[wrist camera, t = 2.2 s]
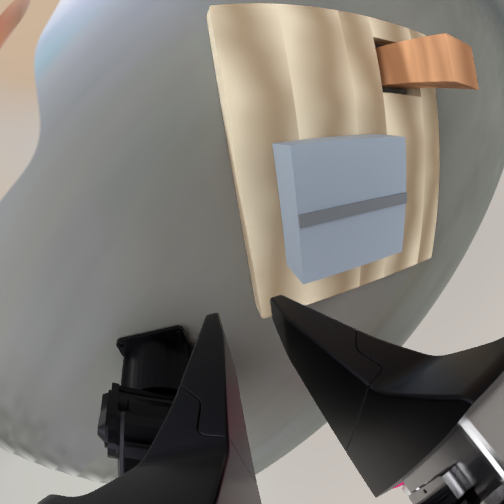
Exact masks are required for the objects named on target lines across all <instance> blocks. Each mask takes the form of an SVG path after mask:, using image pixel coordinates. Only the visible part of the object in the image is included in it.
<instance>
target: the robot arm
mask: <svg viewBox="0 0 504 504" xmlns="http://www.w3.org/2000/svg"><path fill="white" fill-rule="evenodd" d="M270 305H271V312H272V318H273V321H274V324H275V326H276V329H277V331H278V334H279V336H280V338H281V341H282V343H283V346H284V348H285V350H286V353H287V355H288V357H289V359H290V360H291V362H292V364H293V366H294V367H295V369H296V371H297V372H298V374H299V376H300V377H301V379H302V381H303V382H304V384H305V386H306V387H307V389H308V391H309V392H310V394H311V396H312V397H313V399H314V401H315V402H316V404H317V405H318V407H319V409H320V410H321V412H322V414H323V415H324V417H325V419H326V420H327V422H328V423H329V425H330V427H331V428H332V430H333V431H334V433H335V435H336V436H337V438H338V439H339V441H340V443H341V444H342V446H343V447H344V449H345V450H346V452H347V454H348V456H349V457H350V459H351V460H352V462H353V463H354V465H355V466H356V468H357V470H358V471H359V473H360V474H361V476H362V477H363V479H364V481H365V482H366V484H367V485H368V487H369V488H370V490H371V491H372V493H373V494H374V496H375V497H378V496H380V495H382V494H384V493H385V492H387V491H389V490H390V489H392V488H394V487H395V486H397V485H399V484H400V483H402V482H404V484H405V485H406V487H407V488H408V490H409V491H410V493H411V495H409V498H410V500H411V501H412V503H413V504H504V337H503V338H501V339H499V340H496V341H494V342H491V343H488V344H485V345H481V346H478V347H475V348H471V349H468V350H464V351H460V352H457V353H453V354H448V355H444V356H432V355H426V354H423V353H420V352H416V351H413V350H410V349H407V348H403V347H400V346H397V345H394V344H391V343H388V342H386V341H383V340H380V339H377V338H375V337H373V336H370V335H368V334H365V333H363V332H361V331H359V330H357V331H356V329H354V328H352V327H350V326H348V325H345V324H343V323H341V322H339V321H337V320H335V319H332V318H330V317H328V316H326V315H324V314H322V313H319V312H317V311H315V310H313V309H311V308H309V307H307V306H305V305H302V304H300V303H298V302H296V301H294V300H292V299H290V298H288V297H286V296H284V295H277V296H274V297H271V298H270ZM176 331H180V332H176ZM120 343H123V344H120ZM116 345H117V347H118V349H119V350H120V352H121V354H122V355H123V357H124V359H123V368H122V378H121V386H120V385H119V384H117V383H112V390H109V393H106V394H103V397H102V405H101V413H100V418H99V423H98V436H99V437H100V438H101V439H102V440H103V442H104V443H105V448H108V457H109V458H115V459H118V476H119V477H118V478H116V479H114V480H113V481H111V482H109V483H108V484H106V485H104V486H102V487H100V488H99V489H97V490H95V491H93V492H91V493H89V494H86V495H83V496H78V497H66V496H60V495H49V496H47V497H46V498H44V499H43V500H41V501H40V502H38V504H261V500H260V496H259V491H258V486H257V484H256V483H257V482H256V477H255V472H254V467H253V462H252V457H251V452H250V447H249V442H248V437H247V432H246V426H245V421H244V415H243V410H242V404H241V399H240V393H239V387H238V381H237V376H236V371H235V367H234V364H233V361H232V357H231V354H230V351H229V347H228V344H227V341H226V337H225V334H224V331H223V327H222V324H221V320H220V317H219V314H218V313H213V314H209V315H207V316H206V318H205V320H204V323H203V325H202V328H201V331H200V333H199V336H198V338H197V341H196V344H195V346H194V344H192V343H189V342H188V339H187V337H186V334H185V332H184V329H183V328H182V327H181V326H173V327H169V328H165V329H160V330H156V331H152V332H147V333H143V334H138V335H133V336H129V337H124V338H120V339H118V340H117V344H116Z"/></svg>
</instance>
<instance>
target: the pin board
mask: <svg viewBox="0 0 504 504" xmlns="http://www.w3.org/2000/svg"><path fill="white" fill-rule="evenodd" d="M207 23H208V29H209V35H210V41H211V48H212V54H213V60H214V66H215V72H216V78H217V84H218V90H219V96H220V102H221V108H222V114H223V120H224V126H225V132H226V137H227V143H228V149H229V155H230V161H231V167H232V172H233V178H234V184H235V190H236V196H237V201H238V207H239V213H240V219H241V224H242V230H243V236H244V241H245V247H246V253H247V258H248V264H249V270H250V275H251V281H252V286H253V292H254V298H255V303H256V307H257V309H258V311H259V313H260V315H261V317H262V319H264V318H267V317H270V316H272V312H271V305H270V298H271V297H274V296H277V295H284V296H286V297H288V298H290V299H292V300H294V301H296V302H298V303H300V304H302V305H308V304H311V303H314V302H317V301H320V300H323V299H326V298H329V297H332V296H335V295H337V294H340V293H343V292H346V291H349V290H351V289H354V288H357V287H359V286H362V285H365V284H367V283H370V282H373V281H375V280H378V279H380V278H383V277H386V276H388V275H391V274H393V273H396V272H398V271H401V270H403V269H405V268H408V267H410V266H413V265H415V264H417V263H420V262H422V261H424V260H427V259H429V258H431V256H432V249H433V242H434V235H435V227H436V218H437V207H438V192H439V125H438V112H437V101H436V92H435V88H412V89H405V91H406V95H403V94H395V93H385V92H383V91H382V83H381V77H380V71H379V65H378V59H377V54H376V49H375V45H380V46H384V45H388V44H392V43H396V42H400V41H405V40H410V39H415V38H420V37H425V35H424V34H422V33H419V32H416V31H414V30H411V29H408V28H405V27H402V26H399V25H396V24H392V23H389V22H386V21H382V20H378V19H375V18H371V17H367V16H362V15H358V14H353V13H349V12H343V11H338V10H332V9H325V8H318V7H310V6H300V5H288V4H265V3H247V4H224V5H211V6H210V7H209V11H208V14H207ZM365 134H384V135H393V136H401V137H405V145H406V192H407V203H406V205H405V223H404V236H403V246H402V252H399V253H396V254H394V255H391V256H388V257H385V258H382V259H379V260H377V261H374V262H371V263H368V264H365V265H362V266H359V267H356V268H353V269H350V270H347V271H344V272H341V273H338V274H335V275H332V276H329V277H326V278H322V279H319V280H316V281H313V282H310V283H306V284H302V283H301V281H300V280H299V279H298V278H297V277H296V275H295V274H294V273H293V272H292V271H291V269H290V268H289V267H288V266H287V263H286V253H285V244H284V234H283V225H282V217H281V208H280V200H279V192H278V184H277V176H276V169H275V161H274V154H273V147H272V143H279V142H287V141H294V140H303V139H312V138H322V137H334V136H348V135H365Z"/></svg>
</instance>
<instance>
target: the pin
mask: <svg viewBox="0 0 504 504" xmlns="http://www.w3.org/2000/svg"><path fill="white" fill-rule="evenodd" d="M375 49H376V54H377V59H378V65H379V71H380V77H381V83H382V87H387V88H396V89H412V88H459V89H476V90H478V83H477V76H476V70H475V65H474V59H473V54H472V50H471V46H469V45H467V44H466V43H464V42H462V41H460V40H458V39H456V38H454V37H452V36H450V35H448V34H446V33H445V34H438V35H431V36H425V37H420V38H415V39H410V40H405V41H400V42H396V43H392V44H388V45H384V46H380V47H376V48H375Z"/></svg>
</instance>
